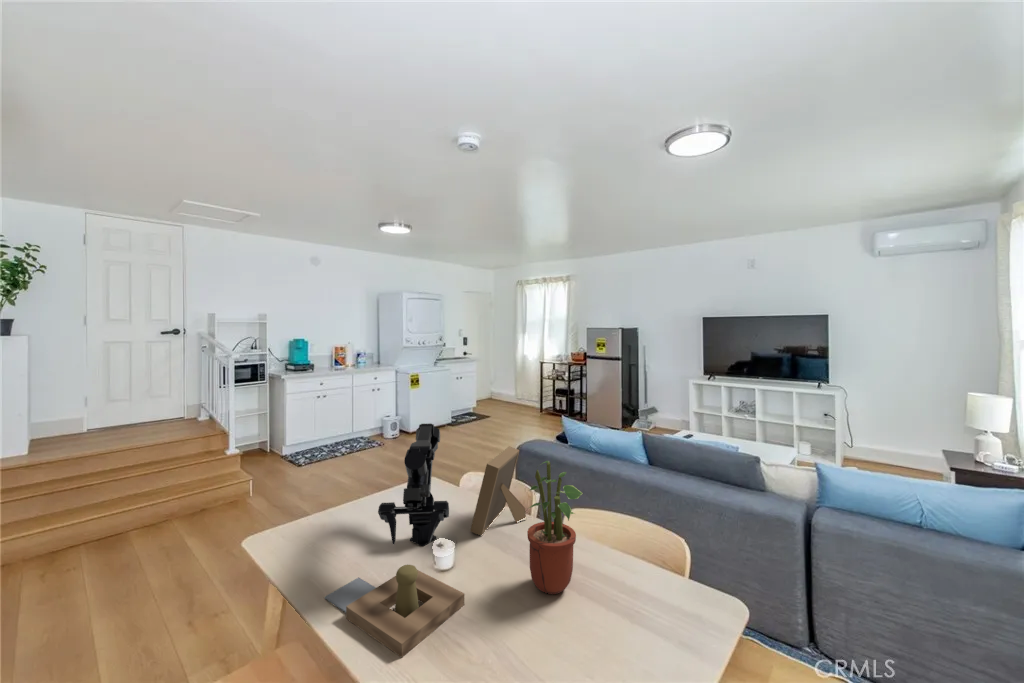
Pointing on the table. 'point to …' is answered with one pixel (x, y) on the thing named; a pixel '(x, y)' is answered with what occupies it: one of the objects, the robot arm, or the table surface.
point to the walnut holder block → (415, 627)
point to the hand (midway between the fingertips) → (411, 543)
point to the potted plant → (552, 538)
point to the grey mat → (349, 593)
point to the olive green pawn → (406, 590)
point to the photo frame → (497, 491)
